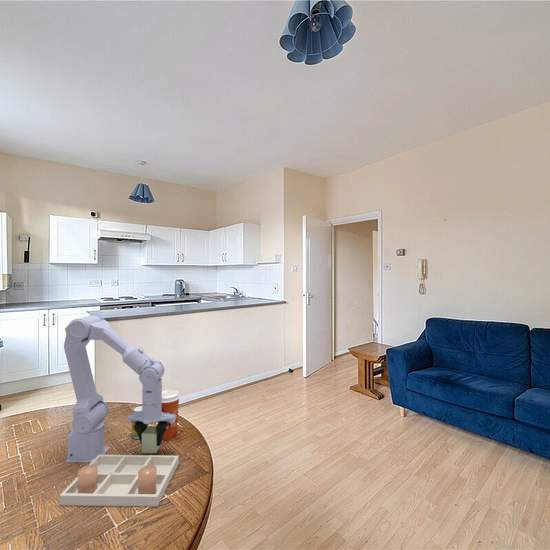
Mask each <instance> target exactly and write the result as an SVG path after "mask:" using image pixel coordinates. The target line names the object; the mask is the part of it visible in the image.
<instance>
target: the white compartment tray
mask: <svg viewBox="0 0 550 550" xmlns="http://www.w3.org/2000/svg"><path fill="white" fill-rule="evenodd" d="M179 460H180V456H179V455H160V454H159V455H155V454H154V455H153V454H152V455H151V454H149V455H143V454H142V455H141V454H138V455H137V454H103V455H98V456H97V457H96V458H95V459H94V460H93V461H92V462H89V464H88V465H91V464H95V465H97V466H98V488H97V489H96V491H95V492H94V493H93V494H86V493H78V476H77V477H76V478H75V479H74V480H73V481H72V482H71V483H70V484H69V485H68V486H67V487H66V488H65V489H64V490H63V491H62V492H61V493H60V495H59V501H58V503H59V504H58V505H59V506H62V507H63V506H65V507H66V506H75V507H76V506H77V507H78V506H80V507H81V506H84V507H85V506H87V507H154V508H155V507H156V508H157V507H158V506H159V504H160V502H161V501H162V498H163V497H164V494H165V492H166V490H167V488H168V486H169V485H170V482H171V480H172V478H173V476H174V474H175V472H176V471H177V468H178V466H179V465H180V461H179ZM147 465H154V466H156V468H157V479H156V494H138V471H139V470H140V469H141V468H142V467H144V466H147Z"/></svg>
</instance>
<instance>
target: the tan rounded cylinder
mask: <svg viewBox="0 0 550 550" xmlns="http://www.w3.org/2000/svg"><path fill="white" fill-rule="evenodd" d="M77 477H78V493H86V494H93V493H94V492H95V491H96V489H97V488H98V466H97V465H95V464H91V465H89V464H86V465H85V466H82V467H80V468H79V469H78V471H77Z"/></svg>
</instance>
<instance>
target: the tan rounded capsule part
mask: <svg viewBox="0 0 550 550" xmlns="http://www.w3.org/2000/svg"><path fill="white" fill-rule="evenodd" d="M156 479H157V468H156V466H154V465H147V466H144V467H142V468H141V469H140V470H139V471H138V494H156Z"/></svg>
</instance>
